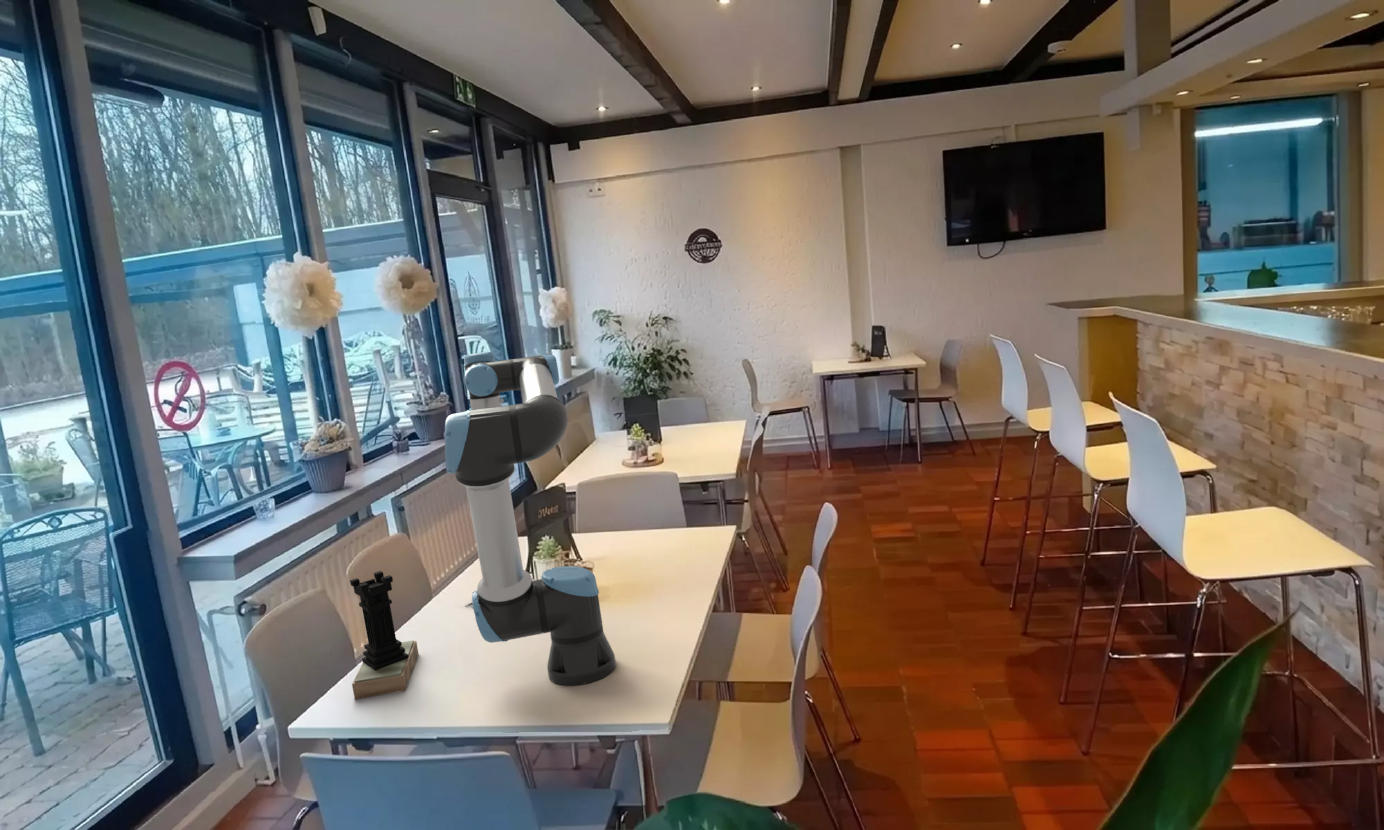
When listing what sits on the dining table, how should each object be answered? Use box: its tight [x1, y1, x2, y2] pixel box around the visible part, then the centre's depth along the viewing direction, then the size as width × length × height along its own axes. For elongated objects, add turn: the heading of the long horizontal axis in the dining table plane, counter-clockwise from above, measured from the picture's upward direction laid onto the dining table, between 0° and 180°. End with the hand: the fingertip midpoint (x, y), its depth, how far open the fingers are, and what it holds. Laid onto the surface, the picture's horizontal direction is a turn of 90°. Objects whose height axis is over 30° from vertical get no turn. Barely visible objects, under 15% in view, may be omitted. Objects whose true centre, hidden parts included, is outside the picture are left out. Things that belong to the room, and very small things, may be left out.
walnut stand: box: [351, 639, 419, 700], centre depth 201 cm, size 20×11×4 cm, turn 10°
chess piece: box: [349, 570, 409, 671], centre depth 200 cm, size 8×8×20 cm
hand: (500, 495), depth 219 cm, fingers open, 13 cm apart
